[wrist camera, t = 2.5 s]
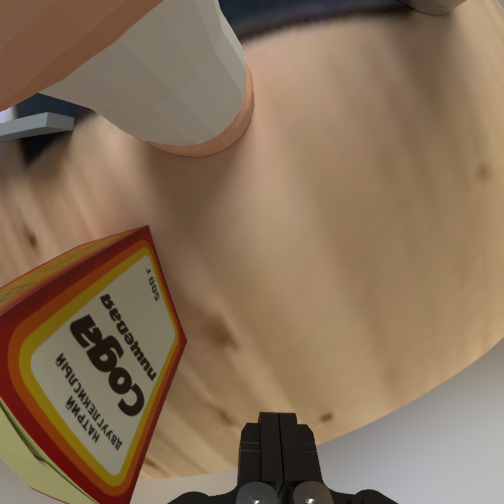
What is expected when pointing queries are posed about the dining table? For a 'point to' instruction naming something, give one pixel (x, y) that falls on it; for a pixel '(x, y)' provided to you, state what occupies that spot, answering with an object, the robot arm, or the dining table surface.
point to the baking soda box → (86, 368)
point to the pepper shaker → (132, 67)
